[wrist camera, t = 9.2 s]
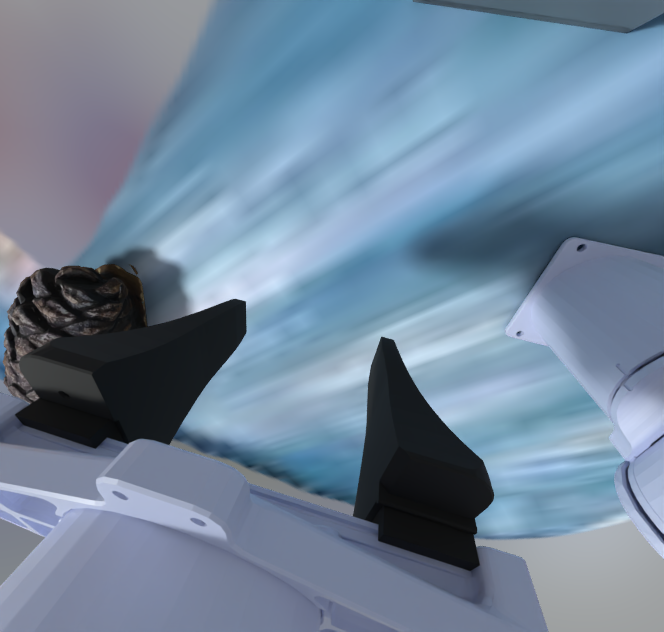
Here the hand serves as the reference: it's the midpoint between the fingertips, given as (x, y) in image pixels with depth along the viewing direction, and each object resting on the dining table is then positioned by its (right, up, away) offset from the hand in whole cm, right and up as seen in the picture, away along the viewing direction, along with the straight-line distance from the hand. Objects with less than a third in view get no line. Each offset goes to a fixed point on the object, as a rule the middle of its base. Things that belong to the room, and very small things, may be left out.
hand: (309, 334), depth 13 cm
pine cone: (-24, +1, +17) cm, 29 cm away
